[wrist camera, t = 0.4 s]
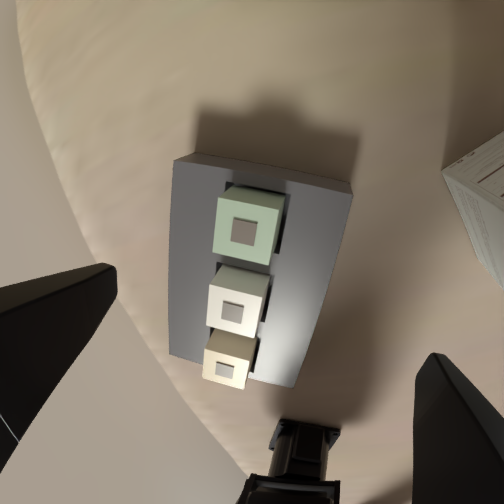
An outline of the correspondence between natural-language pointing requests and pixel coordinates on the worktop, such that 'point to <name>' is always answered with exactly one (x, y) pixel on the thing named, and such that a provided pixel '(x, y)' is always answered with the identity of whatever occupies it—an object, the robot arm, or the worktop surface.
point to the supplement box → (482, 201)
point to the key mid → (237, 300)
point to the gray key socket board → (280, 267)
